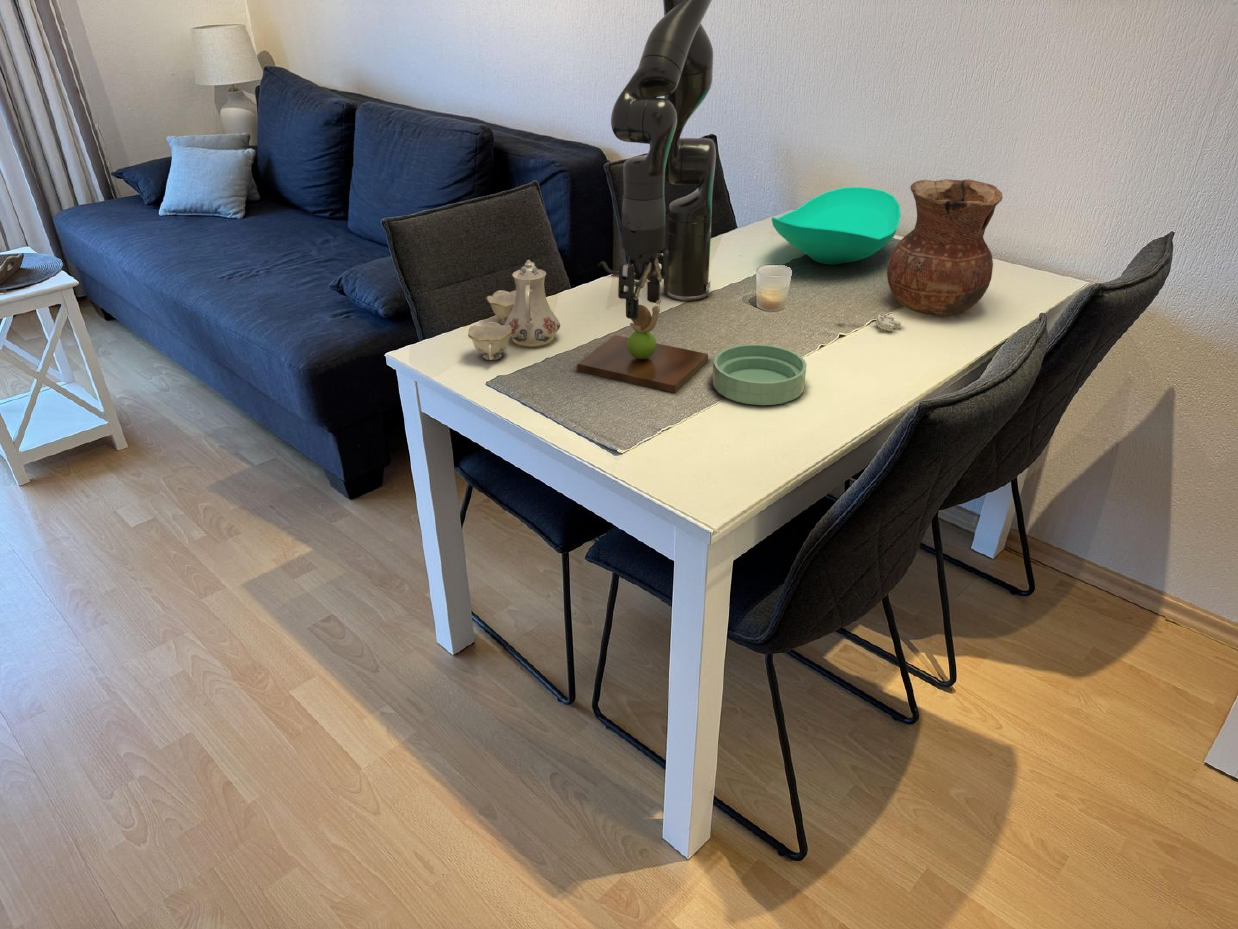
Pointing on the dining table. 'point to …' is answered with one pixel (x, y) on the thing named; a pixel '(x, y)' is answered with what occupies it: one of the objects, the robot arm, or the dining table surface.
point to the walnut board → (644, 364)
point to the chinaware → (517, 316)
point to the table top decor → (841, 224)
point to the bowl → (759, 374)
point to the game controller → (886, 322)
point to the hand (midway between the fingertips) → (642, 309)
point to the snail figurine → (643, 333)
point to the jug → (945, 248)
